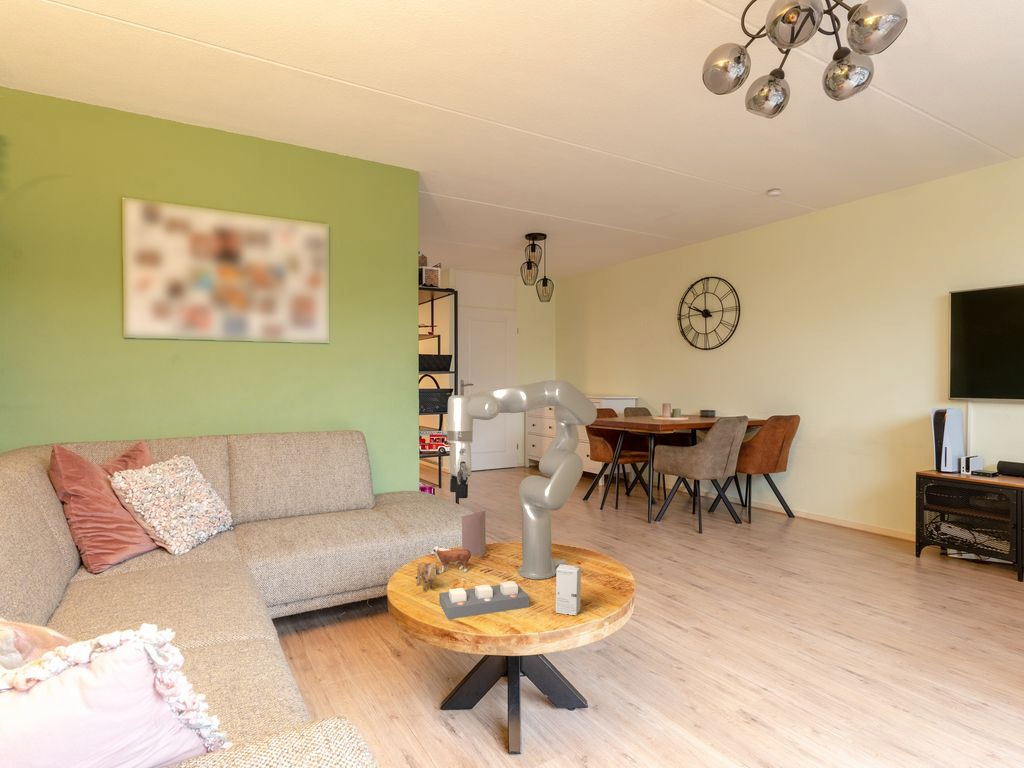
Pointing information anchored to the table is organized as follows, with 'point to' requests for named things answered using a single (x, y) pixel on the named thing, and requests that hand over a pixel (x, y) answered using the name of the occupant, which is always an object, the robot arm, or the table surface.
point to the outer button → (457, 595)
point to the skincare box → (568, 589)
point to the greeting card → (474, 533)
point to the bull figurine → (452, 557)
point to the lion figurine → (427, 574)
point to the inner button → (508, 588)
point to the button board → (483, 603)
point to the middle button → (483, 591)
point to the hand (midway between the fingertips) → (458, 494)
